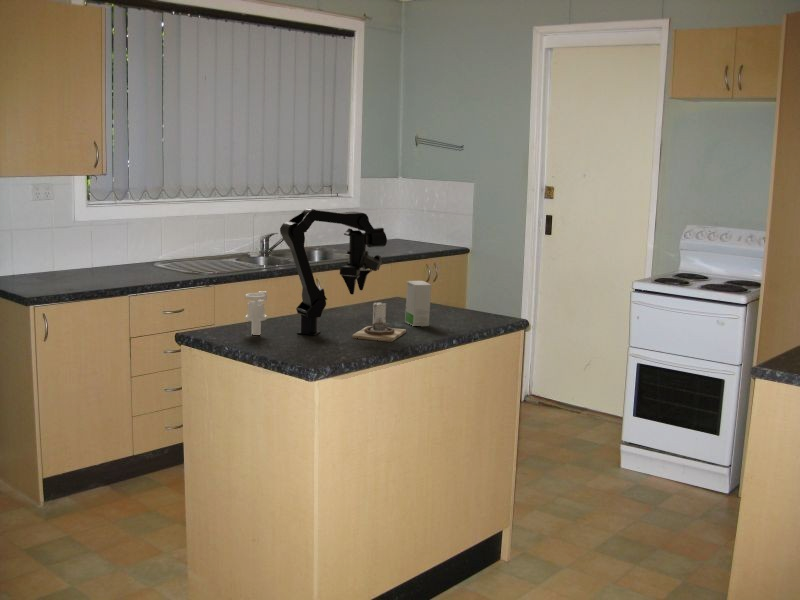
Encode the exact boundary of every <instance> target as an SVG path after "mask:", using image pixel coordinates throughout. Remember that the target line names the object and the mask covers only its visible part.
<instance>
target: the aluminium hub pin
mask: <svg viewBox="0 0 800 600" xmlns="http://www.w3.org/2000/svg"><path fill="white" fill-rule="evenodd" d="M386 320H387V303H386V302H382V301H381V302H380V301H379V302H378V301H377V302H373V303H372V326H373V328H371V329H370V331H373V332H388V329H386V328H385V327H387V325H386V323H387V322H386Z"/></svg>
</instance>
